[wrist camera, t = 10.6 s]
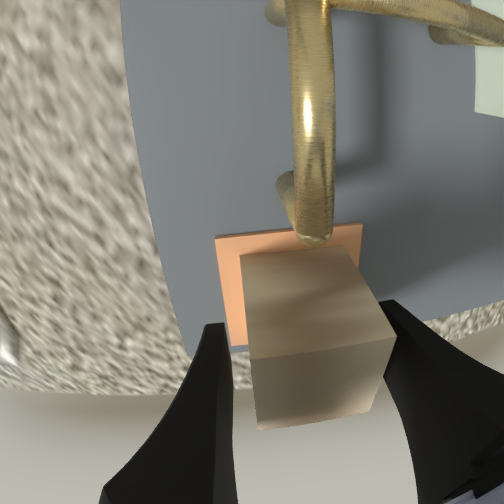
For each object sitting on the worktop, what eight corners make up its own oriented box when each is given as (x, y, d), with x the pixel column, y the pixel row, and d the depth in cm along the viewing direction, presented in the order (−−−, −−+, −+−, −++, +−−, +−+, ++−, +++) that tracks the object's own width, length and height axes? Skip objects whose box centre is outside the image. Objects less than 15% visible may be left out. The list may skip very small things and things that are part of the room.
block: (342, 245, 12) (396, 336, 8) (334, 321, 14) (368, 411, 10) (239, 255, 12) (250, 359, 8) (247, 332, 14) (258, 430, 10)
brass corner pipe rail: (447, 23, 8) (518, 22, 5) (440, 190, 12) (498, 233, 8) (263, -1, 8) (285, -38, 4) (276, 199, 11) (299, 256, 8)
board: (537, 10, 8) (554, 11, 6) (500, 286, 17) (511, 299, 16) (127, -53, 7) (117, -65, 6) (189, 338, 16) (187, 359, 15)
